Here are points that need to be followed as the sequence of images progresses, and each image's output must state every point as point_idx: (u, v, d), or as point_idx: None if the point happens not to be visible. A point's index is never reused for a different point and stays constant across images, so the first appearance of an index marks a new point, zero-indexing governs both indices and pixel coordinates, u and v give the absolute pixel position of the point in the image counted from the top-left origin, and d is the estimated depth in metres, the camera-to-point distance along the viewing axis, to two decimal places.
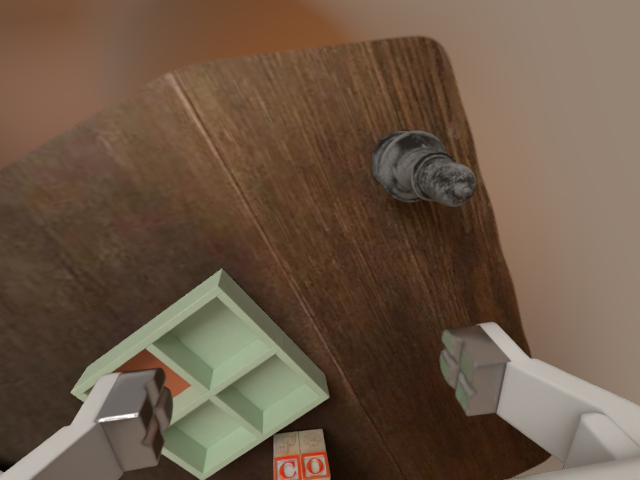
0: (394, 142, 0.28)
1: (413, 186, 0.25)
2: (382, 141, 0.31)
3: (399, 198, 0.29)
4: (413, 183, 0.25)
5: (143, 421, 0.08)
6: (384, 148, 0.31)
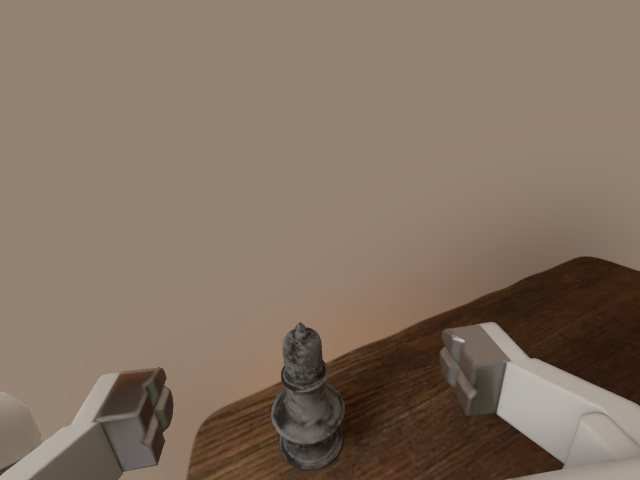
0: (280, 431, 0.26)
1: (313, 388, 0.25)
2: (289, 458, 0.28)
3: (340, 417, 0.27)
4: (309, 388, 0.25)
5: (143, 421, 0.08)
6: (295, 454, 0.28)
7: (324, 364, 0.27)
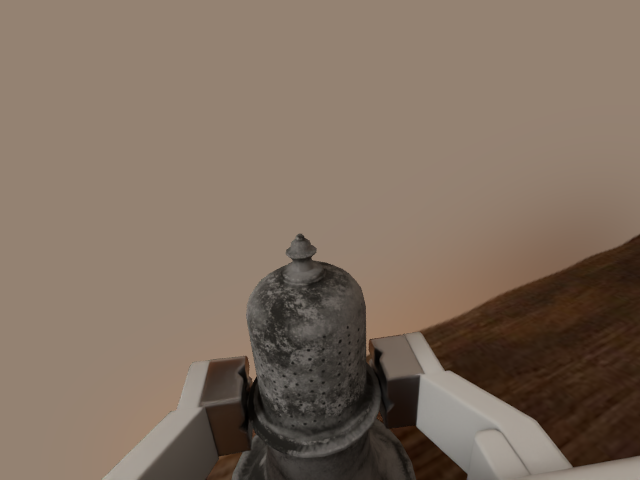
0: None
1: (342, 443, 0.08)
2: None
3: None
4: (332, 444, 0.08)
5: (243, 406, 0.08)
6: None
7: (367, 368, 0.10)
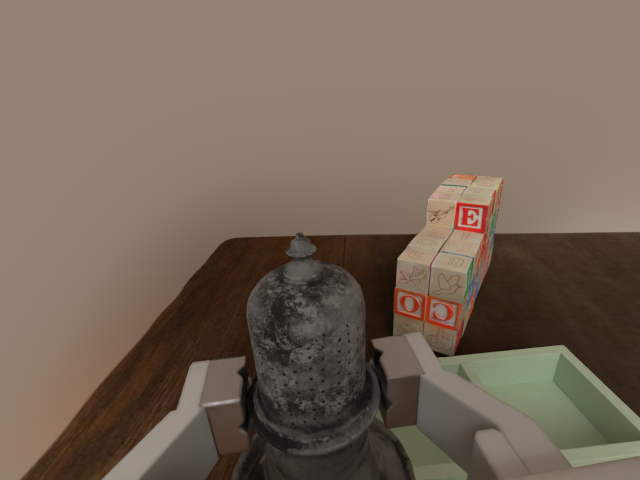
0: None
1: (341, 441, 0.08)
2: None
3: None
4: (332, 442, 0.08)
5: (243, 406, 0.08)
6: None
7: (366, 366, 0.10)
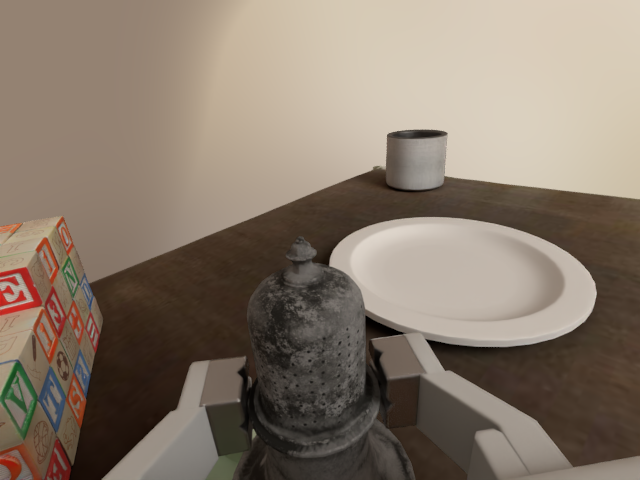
0: None
1: (341, 443, 0.08)
2: None
3: None
4: (332, 444, 0.08)
5: (243, 406, 0.08)
6: None
7: (366, 369, 0.10)
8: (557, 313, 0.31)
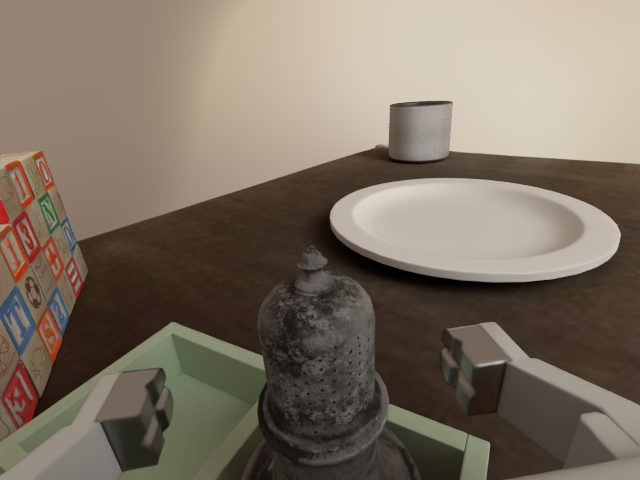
0: None
1: (351, 451, 0.08)
2: None
3: None
4: (342, 452, 0.08)
5: (143, 421, 0.08)
6: None
7: (374, 375, 0.10)
8: (579, 250, 0.28)
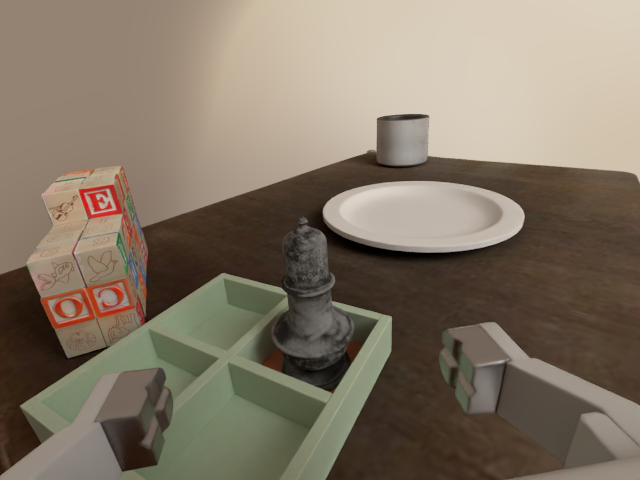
0: (281, 346, 0.23)
1: (317, 292, 0.22)
2: None
3: (349, 333, 0.24)
4: (314, 292, 0.22)
5: (144, 421, 0.08)
6: (298, 378, 0.24)
7: (330, 273, 0.24)
8: (489, 232, 0.41)
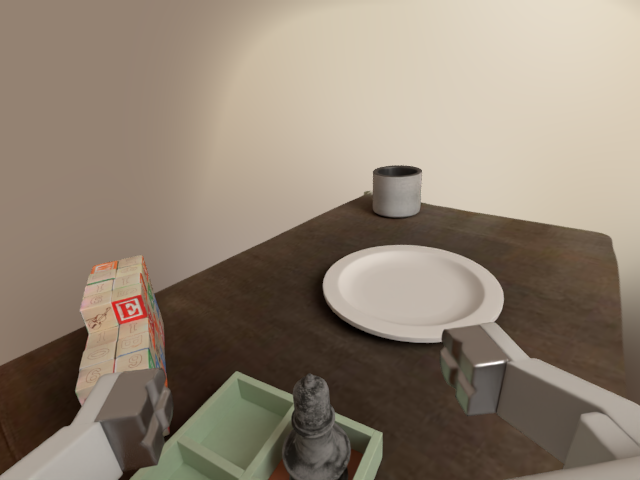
0: (291, 472, 0.28)
1: (321, 433, 0.27)
2: None
3: (346, 457, 0.29)
4: (318, 434, 0.27)
5: (144, 420, 0.08)
6: None
7: (331, 408, 0.29)
8: (471, 320, 0.47)
